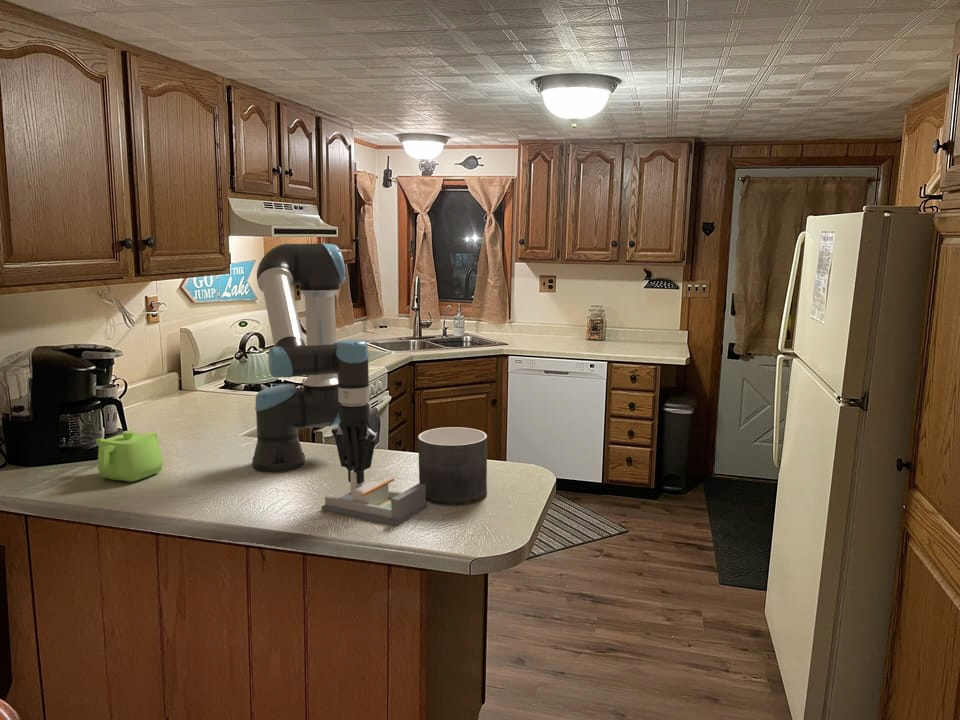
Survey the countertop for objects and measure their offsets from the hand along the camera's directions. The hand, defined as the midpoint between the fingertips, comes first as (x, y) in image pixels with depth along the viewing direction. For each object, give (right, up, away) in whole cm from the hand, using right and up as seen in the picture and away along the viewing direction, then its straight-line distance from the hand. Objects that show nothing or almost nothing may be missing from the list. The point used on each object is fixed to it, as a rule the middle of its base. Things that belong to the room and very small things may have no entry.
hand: (356, 495), depth 181 cm
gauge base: (+5, -3, -2) cm, 6 cm away
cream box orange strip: (+3, -2, -1) cm, 4 cm away
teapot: (-69, +1, +24) cm, 73 cm away
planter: (+24, -1, +9) cm, 25 cm away
